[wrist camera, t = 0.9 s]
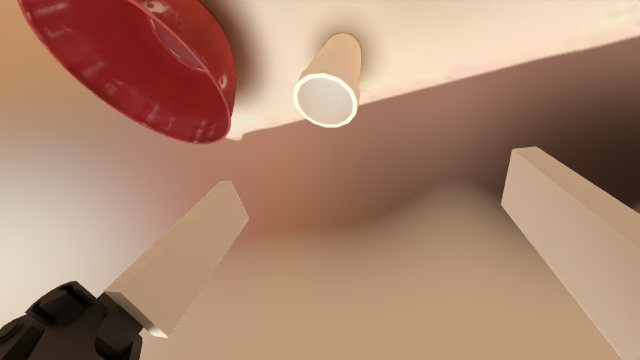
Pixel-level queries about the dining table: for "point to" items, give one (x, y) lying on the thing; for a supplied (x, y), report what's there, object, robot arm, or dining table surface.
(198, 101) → the mixing bowl
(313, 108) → the foam cup
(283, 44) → the dining table surface
